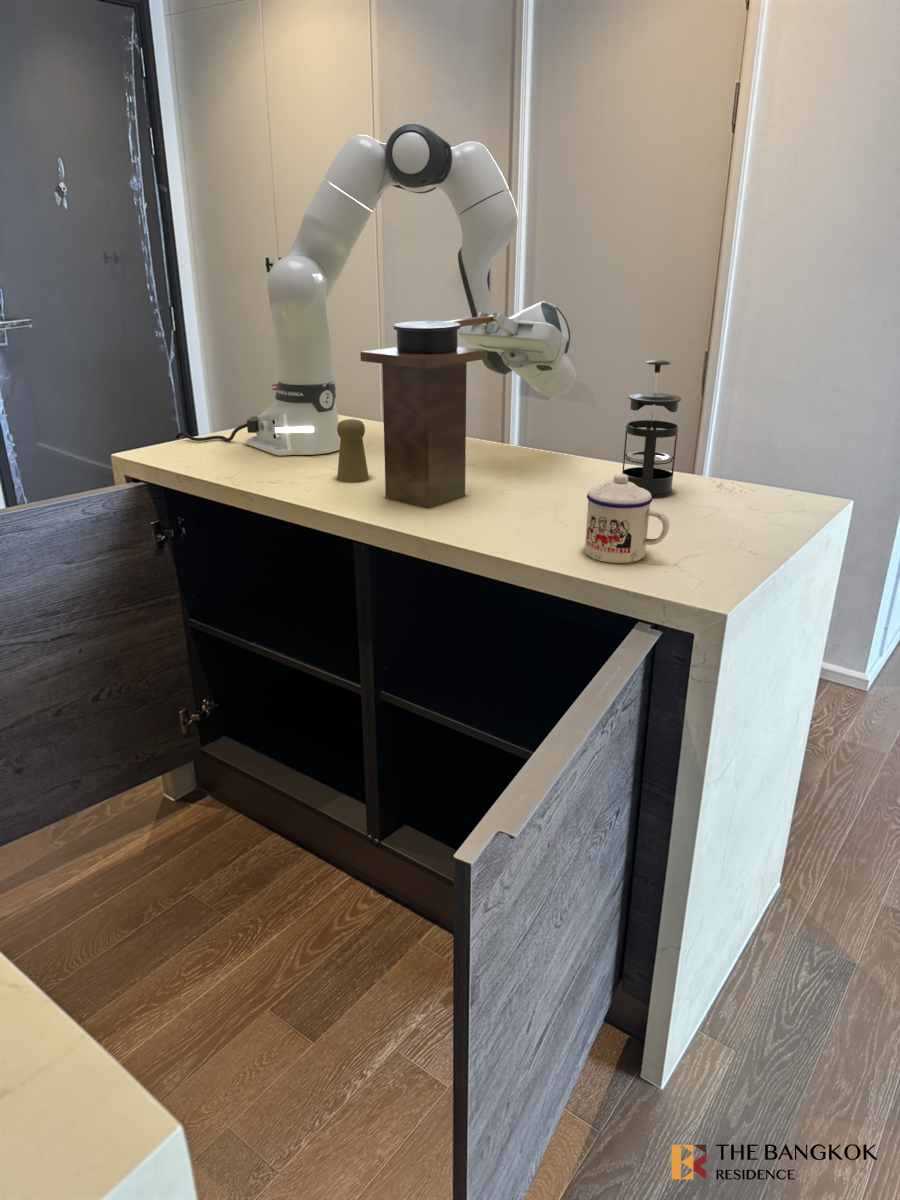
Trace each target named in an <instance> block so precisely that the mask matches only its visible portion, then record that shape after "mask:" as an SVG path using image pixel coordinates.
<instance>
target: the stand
mask: <svg viewBox="0 0 900 1200" xmlns="http://www.w3.org/2000/svg"><path fill="white" fill-rule="evenodd" d="M359 354H360V362H364V363H375V364H381V369H382V370H381V371H382V373H381V375H382V405H383V406H382V408H383V409H382V410H383V411H382V412H383V413H382V414H383V440H384V441H383V447H384V450H383V451H384V452H383V453H384V484H385V485H384V486H385V487H384V489H385V490H384V491H385V499H389V500H394V501H396V502H402V503H406V504H410V505H414V506H417V507H422V508H426V509H431V508H434V507H437V506H439V505H443V504H445V503H448V502H451V501H454V500H458V499H460V498H464V497H466V462H467V461H466V454H467V452H466V450H467V449H466V448H467V372H468V371H467V370H468V369H467V367H468V366H467V365H468V363H469V362H470V363H471V362H475V361H482V360H483V359H487V350H485V349H478V348H476V347H464V346H458V349H457V350H456V351H453V352H447V353H435V354H415V353H404V352H400V351H398V350H397V346H394V347H393V346H392V347H387V348H378V349H371V350H363V351H360V353H359Z"/></svg>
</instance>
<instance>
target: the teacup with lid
mask: <svg viewBox="0 0 900 1200" xmlns="http://www.w3.org/2000/svg"><path fill="white" fill-rule="evenodd" d="M586 498H587V515H586V529H585V543H584V551H585V554H586V555H587V556H588V557H590V558H591V559H594V560H596V561H600V562H604V563H611V564H628V563H634V562H637V561H640V560H641V559H643V558H644V557H645V555H646V552H647V551H646V550H647V546H653V545H657V544H659V543H661V542H662V541H663V540H664V539H666V537H667V535H668V533H669V530H670V521H669V518H668V516H666V514H664V513H663V512H662V511H659V510H655V509H651V503H652V502H653V498H652V496H651V494H650V492H649V491H647V490H645V489H643V488H640V487H638V486H636V485H635V484H634V483H632V482H629V481H628V476H627V475H625V474H622V473H617V474H615V475H613V480H610V481H609V480H608V481H607V482H604V483H603V484H600V485H599V484H598V485H595V486H593V487H591V488H590V489H589V490H588V491H587V494H586ZM650 516H651V517H654V518H657V519H659V520H660V522H661V523H662V530H661V533H660V535H659V536H658V537H656V538H648V528H649V519H650Z"/></svg>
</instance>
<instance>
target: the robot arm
mask: <svg viewBox="0 0 900 1200" xmlns="http://www.w3.org/2000/svg"><path fill="white" fill-rule="evenodd" d="M493 157H494V156H492V154H491V153H490V151H489V149H488V148H487V147H486V146H485V145H484V144H483V143H480V142H478V141H467V142H463V143H460V144H458V145H456V146H453V147H452V146H451V144H450V143H449V142H447V141H446V140H445V139H443V138H442V137H441V136H439V135H438V134H437V133H435V132H434V130H432V129H430V127H427V126H425V125H423V124H420V123H416V122H415V123H413V122H409V123H405V124H403V125H401V126H398V127H397V128H396V129H394V130H393V132H392V133H391V134H390V135H389V136H388V139H387V141H386V143H385V142H381V141H379V140H377V139H376V138H374V137H372V136H370V135H366V134H356V135H353V136H351V137H350V138H349V139H348V140H347V141H346V143H345V144H344V145H343V147H342V148H341V149H340V150H339V152H338V153H337V155H336V156H335V158H334V159H333V161H332V162H331V164H330V165H329V167H328V169H327V170H326V172H325V174H324V176H323V178H322V180H321V182H320V184H319V186H318V187H317V189H316V191H315V192H314V195H313V197H312V199H311V201H310V203H309V205H308V207H307V209H306V211H305V213H304V214H303V216H302V221H301V223H300V226H299V228H298V231H297V234H296V236H295V239H294V241H293V243H292V246H291V248H290V250H289V253H288V254H287V256H284V257H282V258H280V259H278V260H277V261H276V262H274V264H273V265H272V267H271V268H270V270H269V273H268V275H267V279H266V287H267V293H268V300H269V307H270V312H271V318H272V324H273V330H274V333H275V339H276V345H277V347H276V348H277V359H278V373H279V382H278V383H276V384H272V385H271V387H274V388H272V389H271V390H272V391H275V396H274V398H275V399H274V400H273V401H272V403H270V404H269V405H268V406H267V407H266V408H265V409H264V410H263V411H262V412H261V413H260V414H259V415H258V416H251V417H250V418H248V419H247V420H246V423H244V424H242V425H239V426H237V427H236V428H234V429H233V431H232V432H231V434H230V436H229V437H226V436H224V435H211V436H206V437H194V436H192V435H190V434H188V433H186V432H184V431H180V432H179V433H177V434H176V436H174V438H175V439H180V438H181V437H182V436H183V437H185V438H186V439H188V440H190V441H193V442H205V441H212V440H222V441H224V442H231V441H233V439H234V438H235V435H236V434H237V433H238V432H239V431H241V430H243V429H245V428H246V430H247V433H248V434H256V435H255V436H251V437H249V438H246V440H245V445H247V446H250V447H253V448H255V449H258V450H261V451H264V452H267V453H269V454H272V455H275V456H292V455H294V456H296V455H297V456H306V455H307V456H308V455H309V456H311V455H313V456H314V455H323V454H329V453H335V452H337V451H340V439H341V438H340V437H339V436H338V432H337V426H338V424H339V422H340V420H339V414H338V409H337V408H338V407H337V405H336V403H335V400H336V398H337V397H336V396H337V395H336V391H337V387H336V382H335V381H334V379H333V378H334V377H333V375H334V374H333V359H332V356H333V355H332V341H331V336H330V331H329V322H328V315H327V303H326V302H327V301H328V300H329V298H330V296H331V294H332V292H333V290H334V288H335V286H336V284H337V282H338V280H339V278H340V276H341V275H342V273H343V270H344V268H345V266H346V264H347V262H348V260H349V257H350V256H351V253H352V251H353V249H354V247H355V245H356V244H357V242H358V240H359V238H360V236H361V234H362V232H363V231H364V228H365V227H366V225H367V223H368V221H369V220H370V217H371V215H372V214H373V211H374V210H375V208H376V206H377V204H378V202H379V200H380V199H381V198H382V195H383V194H384V193H385V192H386V190H388V189H389V188H390V187H393V188H397V189H401V190H405V191H407V192H410V193H413V194H426V193H430V192H433V191H434V190H436V189H440V190H441V191H443V192H444V193H445V195H446V196H447V197H448V200H449V201H450V203H451V205H452V207H453V209H454V212H455V214H456V217H457V219H458V222H459V224H460V229H461V236H462V238H461V247H460V248H459V249H458V252H457V262H458V269H459V273H460V276H461V281H462V285H463V288H464V289H463V290H464V293H465V297H466V300H467V304H468V307H469V311H470V315H471V317H470V316H469V317H468V316H465V317H463V319H465V318H472V317H480V316H487V315H493V317H492V319H491V322H490V323H483V324H476V325H470V326H463V327H460V329H458V336H459V338H461V339H462V340H463V341H465V342H466V343H467V344H469V345H471V346H472V347H473V348H475V349H485V350H487V359H483V360H481V361H482V363H483V365H484V366H485V368H487V369H488V370H489V371H492V372H495V373H497V374H500V375H507V374H510V373H511V372H514V374H516V375H517V376H518V377H520V378H522V379H524V381H525V382H526V383H527V384H528V385H529V386H530V387H531V388H532V389H533V390H534V391H536V392H537V393H539V394H541V395H543V396H545V397H548V398H555V399H556V398H558V397H562V396H564V395H565V394H567V393H568V392H569V391H571V389H572V388H573V387H574V386H575V383H576V381H577V373H576V369H575V366H574V365H573V363H572V362H571V360H570V358H569V356H568V355H569V354H568V351H569V348H570V343H571V330H570V325H569V323H568V321H567V319H566V316H565V315H564V314H563V312H562V311H561V310H560V309H559V307H557V306H556V305H554V304H553V303H551V302H548V301H544V300H542V301H540V302H537V303H535V304H533V305H530V306H529V307H527V308H525V309H523V310H521V311H520V312H517V313H516V314H513V315H512V316H510V317H508V316H505V315H504V314H503V313H502V312H495V308H494V304H493V300H492V297H491V292H490V289H489V285H488V276H489V272H490V269H491V267H492V266H493V264H494V262H495V261H496V260H497V258H499V256H500V255H502V254H503V252H504V250H505V249H507V247H508V245H509V244H510V243H511V241H512V239H513V237H514V236H515V233H516V231H517V228H518V224H519V214H518V209H517V206H516V203H515V200H514V198H513V195H512V193H511V190H510V188H509V186H508V184H507V181H506V179H505V177H504V175H503V172H502V171H501V170H500V167H499V166H498V163H497V162H496V161H495V159H494V158H493Z"/></svg>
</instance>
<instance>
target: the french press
mask: <svg viewBox="0 0 900 1200" xmlns="http://www.w3.org/2000/svg"><path fill="white" fill-rule="evenodd" d="M645 364H646V365H651V366H652V365H654V373H655V379H654V390H653V392H638V393H632V394H629V395H628V399H629V400H630V405H629V406H630V407H629V409H630V410H631V411H633V412H636V411H639V410H640V409H642V408H644V407H645V406H652V410H651V411H652V413H651V419H639V420H631V421H628V422H626V423H625V434H624V435H625V436H624V448H623V457H622V473H621V474H625V475H627V476H628V481H629V482H632V483H634V484H635V485H636V486H638V487H640V488H643V489H645V490H647V491H649V492H650V494H651V496H652V499H658V498H666V497H669V496H671V495H672V494H673V492H674V491H673V490H674V489H673V480H674V472H675V463H676V462H675V461H676V452H677V443H678V434H679V425H678V424H676V423H674V422H669V421H665V420H657V419H655V412H656V411H655V410H656V407H663V408H664V409H666V410H667V411H668V412H670V413H677V411H678V409H679V408H678V407H679V402H681V401H682V397H681V396H679V395H676V394H675V395H674V394H670V393H663V392H657V390H658V380H659V374H660V373H661V366H669V365H671V362H670V361H667V360H662V359H652V360H651V359H650V360H647V361H645ZM628 434H629V435H631V436H635V437H643V438H645V439H644V448H643V449H644V450H635V451H629V452H627V440H628ZM671 437H674V446H673V455H671V454H669V453H666V452H661V451H656V449H657V447H656V446H657V438H659V439H660V438H662V439H663V438H671ZM626 452H627V453H626ZM626 461H628V462H631V463H635V464H639V465H642V466H635V467H627V468H625V464H626V463H625V462H626ZM670 463H672V464H671V465H672V466H671V471H670V470H667V469H663V468H659V467H655V466H658V465H667V464H670Z"/></svg>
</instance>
